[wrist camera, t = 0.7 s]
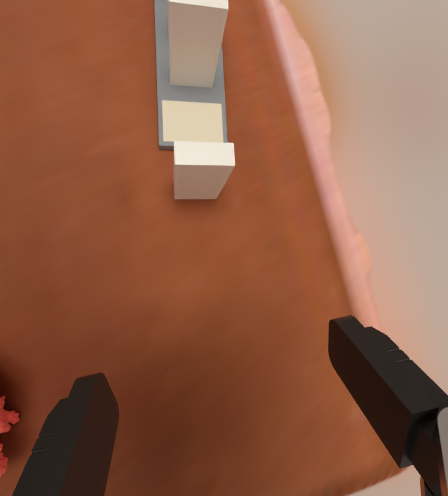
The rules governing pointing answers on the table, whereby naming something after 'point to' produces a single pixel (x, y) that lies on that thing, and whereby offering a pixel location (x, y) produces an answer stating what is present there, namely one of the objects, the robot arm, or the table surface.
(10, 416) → the anatomical heart
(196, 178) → the domino
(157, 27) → the board
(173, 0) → the domino
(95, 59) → the table surface
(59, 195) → the table surface
